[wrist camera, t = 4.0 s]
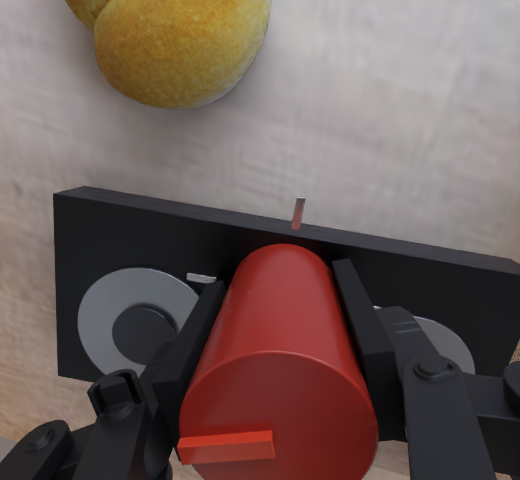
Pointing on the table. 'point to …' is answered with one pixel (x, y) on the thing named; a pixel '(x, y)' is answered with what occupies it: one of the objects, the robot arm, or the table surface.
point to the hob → (263, 234)
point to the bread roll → (174, 46)
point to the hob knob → (279, 379)
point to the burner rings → (175, 320)
